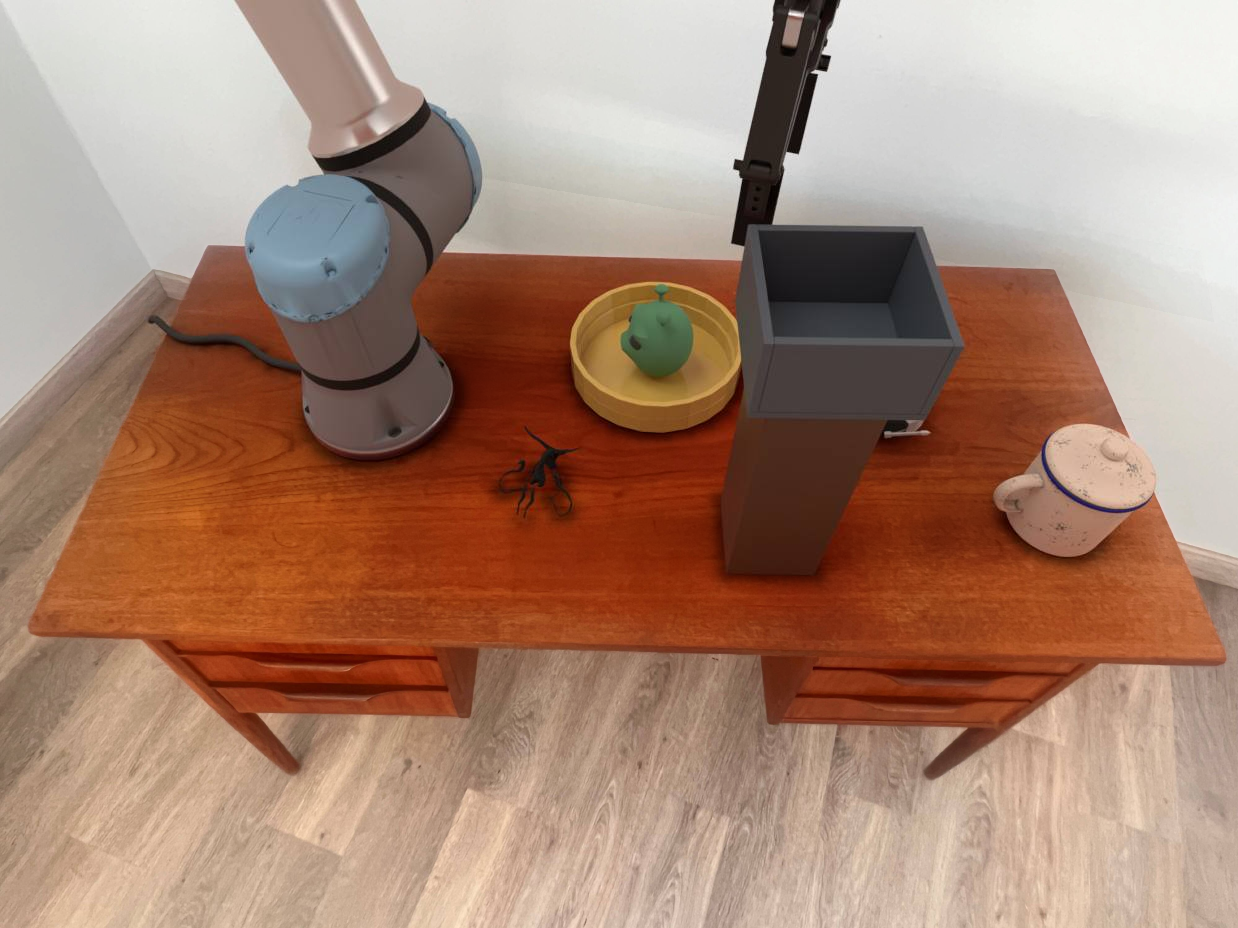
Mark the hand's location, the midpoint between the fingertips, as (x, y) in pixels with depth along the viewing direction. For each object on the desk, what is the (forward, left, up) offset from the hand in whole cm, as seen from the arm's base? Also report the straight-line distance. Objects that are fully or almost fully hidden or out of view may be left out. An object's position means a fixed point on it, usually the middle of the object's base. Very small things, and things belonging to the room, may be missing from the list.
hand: (767, 194), depth 60 cm
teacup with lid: (+31, -7, -24) cm, 40 cm away
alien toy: (-9, 0, -24) cm, 25 cm away
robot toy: (+12, +2, -24) cm, 27 cm away
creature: (-15, -19, -24) cm, 34 cm away
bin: (+7, -17, -24) cm, 30 cm away
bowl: (-9, 0, -24) cm, 26 cm away
